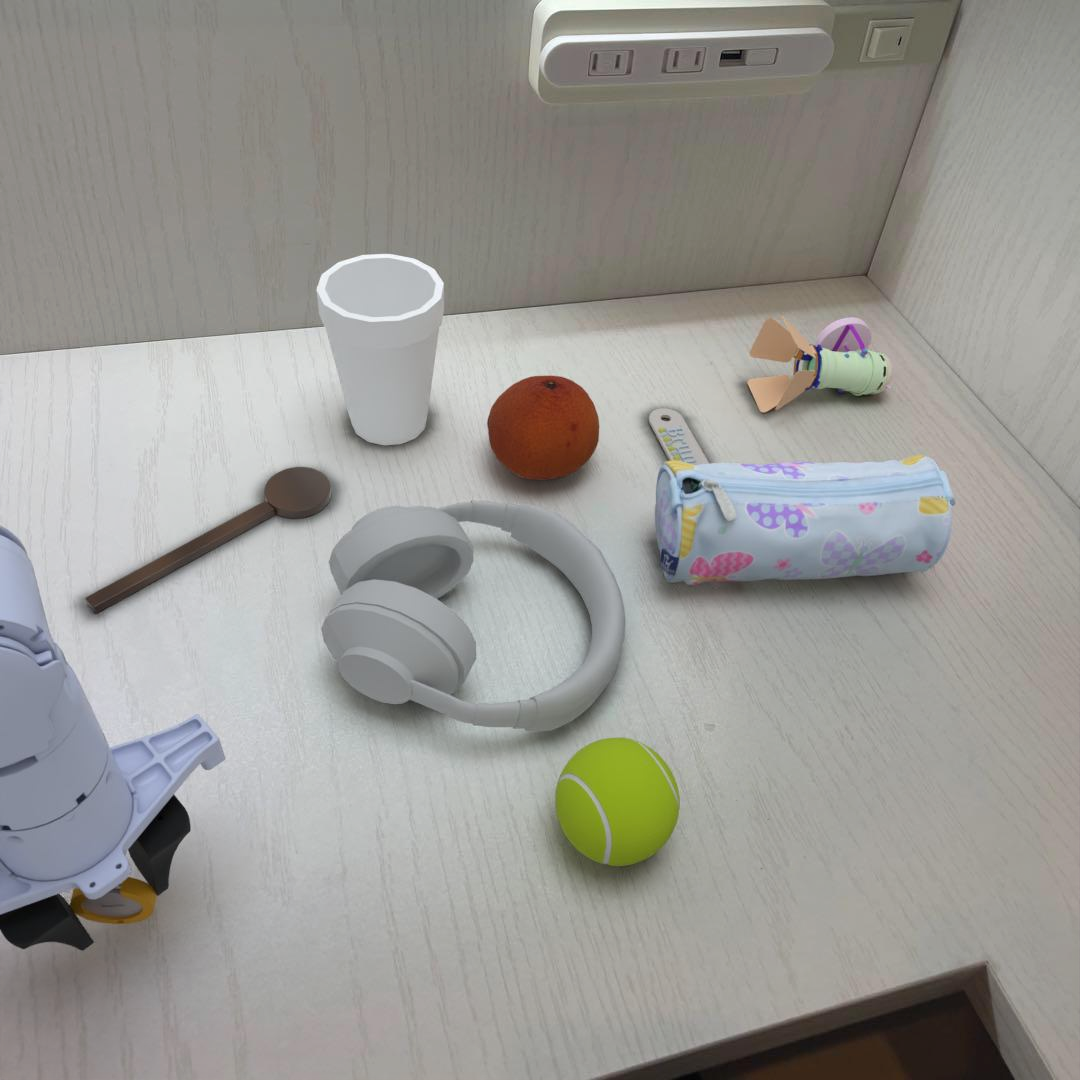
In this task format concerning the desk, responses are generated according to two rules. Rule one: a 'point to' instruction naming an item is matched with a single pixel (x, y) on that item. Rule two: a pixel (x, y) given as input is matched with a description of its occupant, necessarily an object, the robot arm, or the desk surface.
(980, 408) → the desk surface
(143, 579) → the spoon
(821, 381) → the spotlight
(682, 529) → the pencil case
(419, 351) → the foam cup
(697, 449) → the keychain
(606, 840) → the tennis ball
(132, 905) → the tracker
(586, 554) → the headphones
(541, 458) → the fruit
